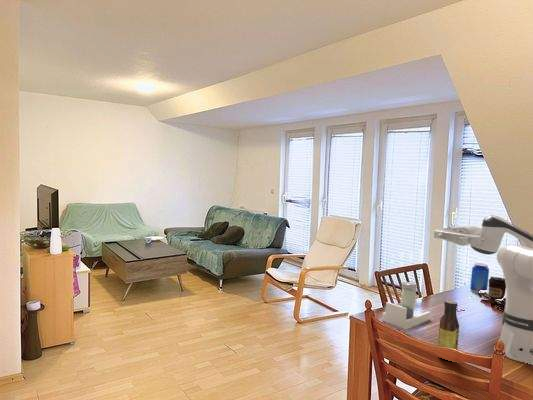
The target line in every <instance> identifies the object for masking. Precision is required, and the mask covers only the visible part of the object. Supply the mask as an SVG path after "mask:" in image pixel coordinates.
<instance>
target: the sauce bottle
mask: <svg viewBox="0 0 533 400" xmlns="http://www.w3.org/2000/svg"><path fill="white" fill-rule="evenodd" d="M457 308H458V302H457V301H454V300H450V299H449V300H448V299H447V300H444V311H443V313H444V314H443V315H442V316H441V317H440V319H439V326H438V338H437V339H438V340H437V346H438V345H439V346H443V347H448V348H452V349H456V350H457V351H458V348H459V347H458V346H459V336H460V335H459V333H460V324H459V320H458V317H457Z"/></svg>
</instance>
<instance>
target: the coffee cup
mask: <svg viewBox="0 0 533 400" xmlns="http://www.w3.org/2000/svg"><path fill="white" fill-rule="evenodd" d="M505 294H506V283H505V278H504V277H498V276H496V277H495V276H490V278H488V302H489V303H491V302H492V304H495V303H494V302H495V299H502V298H503V299H504V297H506V295H505ZM489 297H490V298H491V299H489Z"/></svg>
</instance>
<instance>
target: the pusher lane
mask: <svg viewBox="0 0 533 400" xmlns="http://www.w3.org/2000/svg"><path fill="white" fill-rule="evenodd" d="M396 304H397V303H392V302H389V301H386V302H385V311H384V312H382V317H381V318H382V319H381V321H382V322H385V323H388V324H390V325H393V326H395V327H398V328H401V329H403V330H406V331H407V330H409V329H411V328H414V327H416V326H419V325H420V324H423V323H425V322H427V321H430V319H431V311H429V310H427V311H424V312H422V313H420V314H417V313H414V317H412V318H410V319H407V320H406V314H407V308H405V307H402V306H399V305H400V304H398V305H396Z"/></svg>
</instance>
